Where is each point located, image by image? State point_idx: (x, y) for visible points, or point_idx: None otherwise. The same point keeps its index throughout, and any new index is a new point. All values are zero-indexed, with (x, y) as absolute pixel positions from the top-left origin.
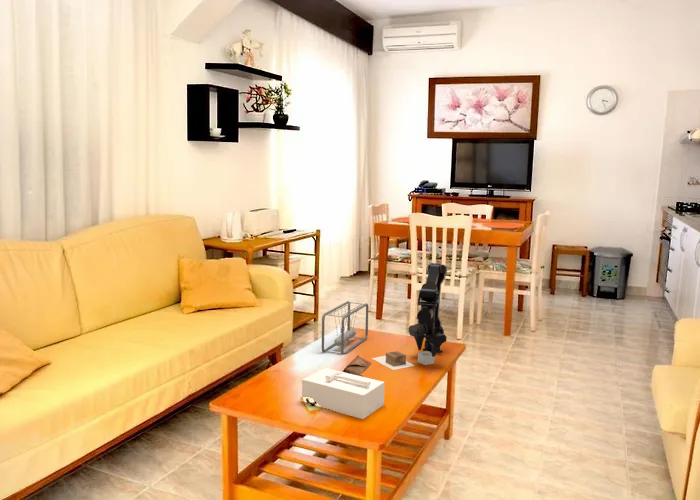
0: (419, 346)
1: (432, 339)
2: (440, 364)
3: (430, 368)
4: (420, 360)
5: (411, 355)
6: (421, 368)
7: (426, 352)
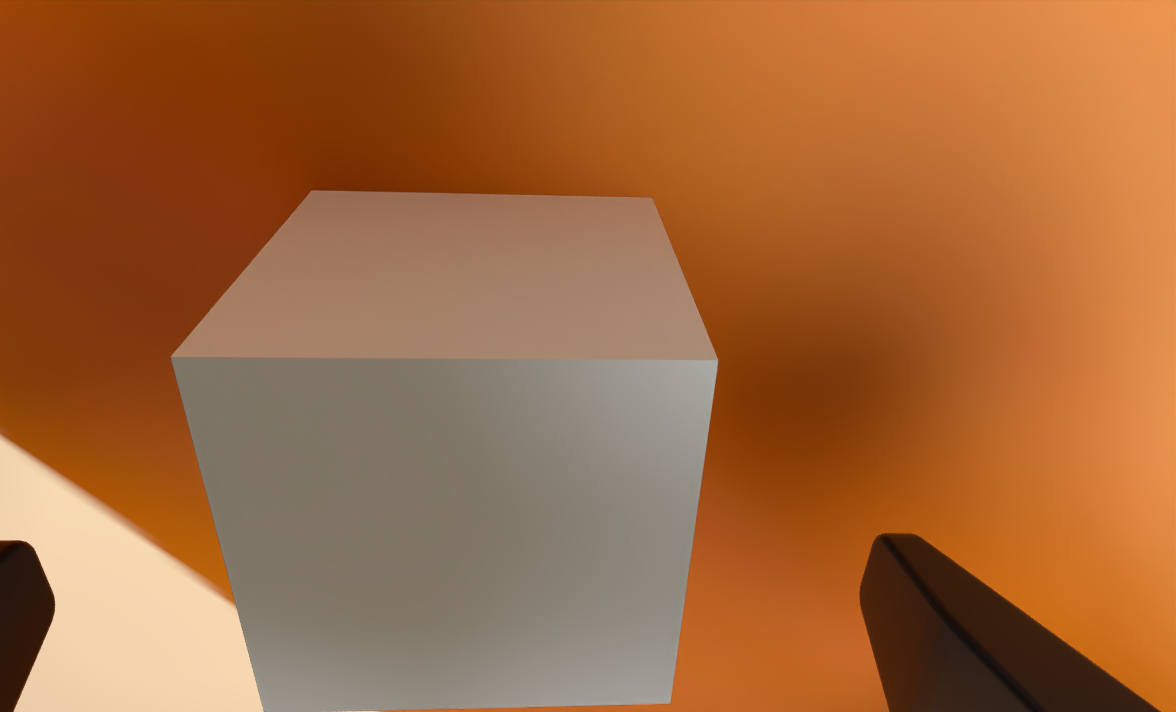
0: (943, 679)
1: None
2: None
3: (186, 273)
4: (517, 245)
5: (1165, 434)
6: (268, 44)
7: (553, 615)
